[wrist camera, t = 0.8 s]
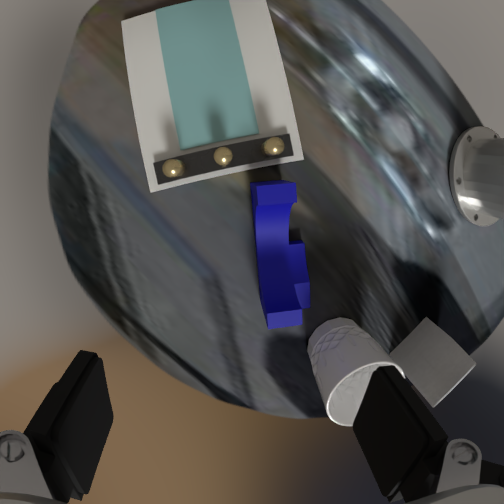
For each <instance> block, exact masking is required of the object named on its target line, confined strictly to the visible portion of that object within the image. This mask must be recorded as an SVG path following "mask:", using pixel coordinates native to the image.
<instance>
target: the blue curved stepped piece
mask: <svg viewBox="0 0 504 504" xmlns="http://www.w3.org/2000/svg"><path fill="white" fill-rule="evenodd" d="M250 187H251V198H252V209H253V220H254V232H255V243H256V254H257V266H258V277H259V289H260V301H261V305H262V309H263V312H264V316H265V319H266V323H267V327H268V329H273V328H281V327H288V326H295V325H302V309H304V308H310V281H309V276H308V271H307V264H306V256H305V243H304V242H303V241H302V240H297V241H289V215H290V210H291V206H292V204H293V203H295V202H297V195H296V183H294V182H289V181H284V180H275V181H263V182H251V183H250Z"/></svg>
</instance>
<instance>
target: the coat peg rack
mask: <svg viewBox="0 0 504 504" xmlns="http://www.w3.org/2000/svg"><path fill="white" fill-rule="evenodd" d="M289 156H294V153H293V148H292V143H291V138H290V134H283V135H277V136H271V137H265V138H260V139H254V140H249V141H244V142H239V143H234V144H229V145H224V146H220V147H215V148H211V149H206V150H202V151H198V152H193V153H189V154H185V155H181V156H177V157H173V158H169V159H166V160H162V161H158V162H154V163H153V165H154V169H155V174H156V178H157V183H158V185H160V184H164V183H168V182H172V181H176V180H180V179H184V178H188V177H192V176H196V175H200V174H205V173H209V172H213V171H218V170H222V169H227V168H232V167H236V166H241V165H246V164H251V163H256V162H261V161H267V160H272V159H278V158H283V157H289Z"/></svg>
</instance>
